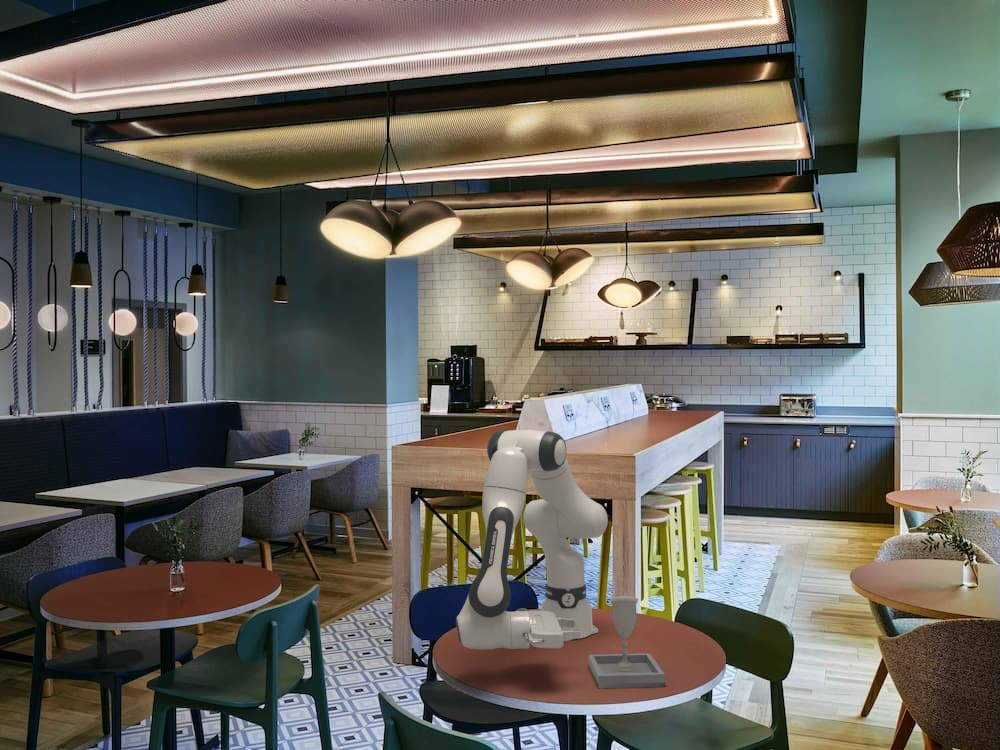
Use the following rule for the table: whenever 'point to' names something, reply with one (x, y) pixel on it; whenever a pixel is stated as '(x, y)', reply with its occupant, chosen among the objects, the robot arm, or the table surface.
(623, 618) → the chalice
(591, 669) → the tray
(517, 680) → the table surface
